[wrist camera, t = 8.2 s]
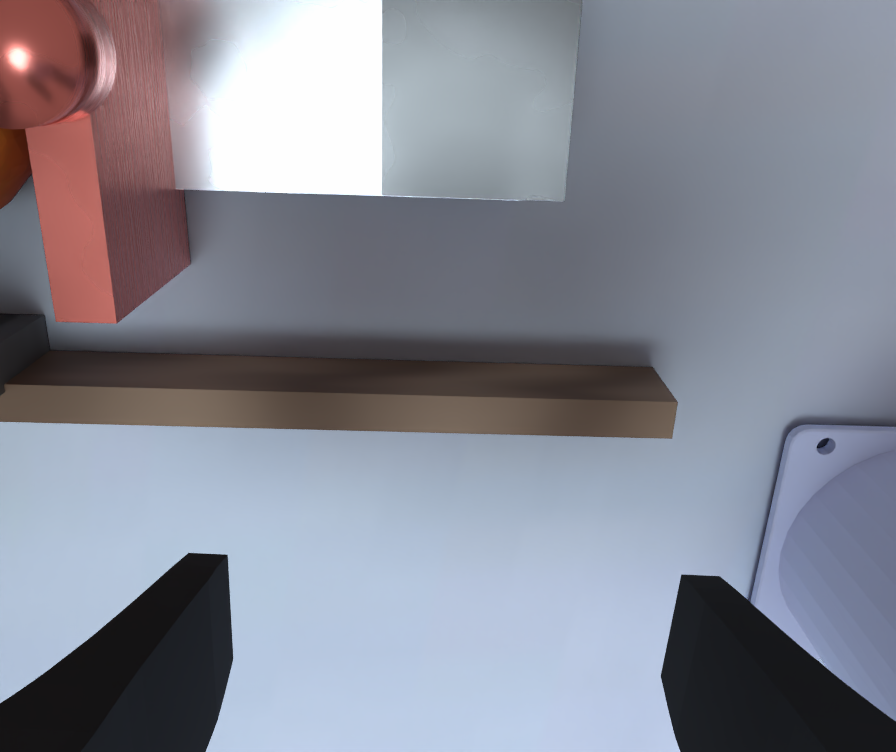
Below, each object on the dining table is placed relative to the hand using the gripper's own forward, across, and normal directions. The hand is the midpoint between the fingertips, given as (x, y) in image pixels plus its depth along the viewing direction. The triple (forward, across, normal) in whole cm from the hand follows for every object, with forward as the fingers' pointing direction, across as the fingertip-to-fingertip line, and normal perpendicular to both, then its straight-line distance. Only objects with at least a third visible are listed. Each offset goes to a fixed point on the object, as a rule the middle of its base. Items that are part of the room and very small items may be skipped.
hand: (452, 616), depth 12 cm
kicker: (+10, +4, -8) cm, 13 cm away
